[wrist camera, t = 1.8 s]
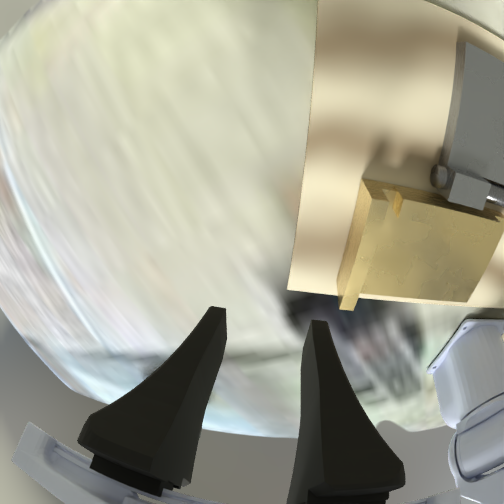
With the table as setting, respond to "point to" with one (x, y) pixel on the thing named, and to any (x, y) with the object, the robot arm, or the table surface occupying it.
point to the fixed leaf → (473, 132)
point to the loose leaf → (415, 246)
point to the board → (379, 125)
